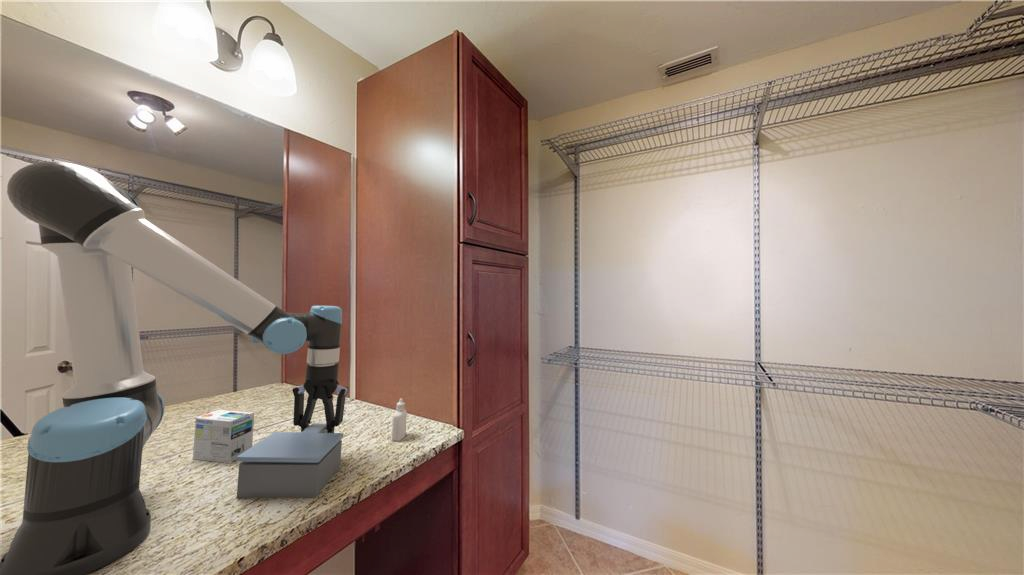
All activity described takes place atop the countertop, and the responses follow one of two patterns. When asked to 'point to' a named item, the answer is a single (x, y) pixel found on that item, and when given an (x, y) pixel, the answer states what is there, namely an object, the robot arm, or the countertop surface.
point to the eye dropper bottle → (399, 422)
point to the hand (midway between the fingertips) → (316, 451)
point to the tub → (287, 477)
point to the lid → (293, 446)
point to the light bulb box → (223, 435)
